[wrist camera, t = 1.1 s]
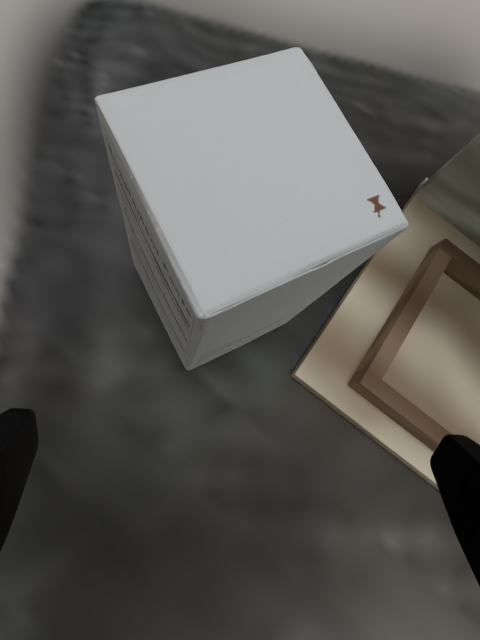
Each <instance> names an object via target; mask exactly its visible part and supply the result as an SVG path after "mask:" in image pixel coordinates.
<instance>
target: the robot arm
mask: <svg viewBox="0 0 480 640" xmlns="http://www.w3.org/2000/svg"><path fill="white" fill-rule="evenodd" d="M37 448H38V432H37V424H36V416H35V412H34V411H33V410H31V409H21V408H11V409H8V410H6V411H5V412H3V413H2V414H0V551H1V549H2V547H3V544H4V542H5V540H6V537H7V535H8V533H9V530H10V528H11V525H12V522H13V519H14V517H15V514H16V511H17V508H18V505H19V502H20V499H21V496H22V493H23V490H24V487H25V484H26V481H27V478H28V475H29V472H30V469H31V466H32V463H33V461H34V458H35V455H36V452H37ZM430 466H431V470H432V472H433V475H434V478H435V481H436V483H437V486H438V489H439V491H440V494H441V497H442V500H443V502H444V505H445V508H446V510H447V513H448V516H449V519H450V521H451V524H452V526H453V529H454V532H455V534H456V536H457V539H458V541H459V543H460V545H461V547H462V550H463V552H464V554H465V556H466V558H467V560H468V562H469V565H470V567H471V569H472V571H473V573H474V575H475V577H476V580H477V582H478V584H479V586H480V445H479V444H478V443H476V442H475V441H473V440H472V439H470V438H469V437H467V436H465V435H459V434H447V435H445V436H444V437H443V438H442V440H441V441H440V443H439V445H438V446H437V448H436V449H435V451H434V453H433V454H432V456H431V459H430Z"/></svg>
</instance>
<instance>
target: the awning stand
mask: <svg viewBox="0 0 480 640" xmlns="http://www.w3.org/2000/svg"><path fill="white" fill-rule="evenodd" d="M402 213H403V215H404V216H405V218H406V220H407V221H408V223H409V226H408V228H407V229H406V230H404V231H403V232H402V233H400V234H399V235H398V236H396V237H395V238H394V239H393V240H391V241H390V242H389V243H388V244H386V245H385V246H384V247H383V248H381V249H380V250H379V251H377V252H376V253H375V254H374V255H372V256H371V257H370V258H369V260H368V261H367V263H366V264H365V266H364V267H363V268H362V270H361V271H360V273H359V274H358V276H357V277H356V279H355V280H354V282H353V283H352V285H351V286H350V288H349V289H348V291H347V292H346V294H345V295H344V297H343V298H342V300H341V301H340V303H339V304H338V306H337V307H336V309H335V310H334V312H333V313H332V314H331V316H330V317H329V319H328V320H327V322H326V323H325V325H324V326H323V328H322V329H321V331H320V332H319V334H318V335H317V337H316V338H315V340H314V341H313V343H312V344H311V346H310V347H309V349H308V350H307V352H306V353H305V355H304V356H303V358H302V359H301V360H300V362H299V363H298V365H297V366H296V368H295V369H294V371H293V372H292V374H291V375H290V376H291V377H293V378H294V379H295V380H297V381H298V382H299V383H300V384H302V385H303V386H304V387H306V388H307V389H308V390H309V391H311V392H312V393H313V394H315V395H316V396H317V397H319V398H320V399H321V400H322V401H324V402H325V403H326V404H328V405H329V406H330V407H331V408H333V409H334V410H335V411H337V412H338V413H339V414H340V415H342V416H343V417H344V418H346V419H347V420H348V421H350V422H351V423H352V424H353V425H355V426H356V427H357V428H359V429H360V430H361V431H362V432H364V433H365V434H366V435H368V436H369V437H370V438H371V439H373V440H374V441H375V442H377V443H378V444H379V445H380V446H382V447H383V448H384V449H386V450H387V451H388V452H390V453H391V454H392V455H393V456H395V457H396V458H397V459H399V460H400V461H401V462H402V463H404V464H405V465H406V466H408V467H409V468H410V469H411V470H413V471H414V472H415V473H417V474H418V475H419V476H421V477H422V478H423V479H424V480H426V481H427V482H428V483H430V484H431V485H432V486H433V487H435V488H436V489H437V490H439V489H438V486H437V483H436V481H435V478H434V475H433V472H432V470H431V466H430V459H431V456H432V454H433V453H434V451H435V449H436V448H437V446H438V445H439V443H440V441H441V440H442V438H443V437H444V436H445V435H447V434H459V435H465V436H467V437H469V438H470V439H472V440H473V441H475V442H476V443H478V444H479V445H480V133H479V134H478V135H477V136H476V137H475V138H474V139H473V140H472V141H470V142H469V143H468V144H467V145H466V146H465V147H464V148H463V149H461V150H460V151H459V152H458V153H457V154H456V155H455V156H454V157H453V158H451V159H450V160H449V161H448V162H447V163H446V164H445V165H444V166H443V167H441V168H440V169H439V170H438V171H437V172H436V173H435V174H434V175H432V176H431V177H430V178H429V179H428V178H427V177H426V178H425V179H424V180H423V181H422V182H421V183H420V184H419V185H418V187H417V188H416V190H415V191H414V193H413V194H412V196H411V197H410V199H409V200H408V202H407V203H406V205H405V206H404V208H403V209H402Z"/></svg>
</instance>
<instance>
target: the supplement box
mask: <svg viewBox="0 0 480 640" xmlns="http://www.w3.org/2000/svg"><path fill="white" fill-rule="evenodd" d="M95 103H96V108H97V113H98V117H99V121H100V125H101V129H102V133H103V137H104V141H105V145H106V149H107V153H108V158H109V162H110V166H111V170H112V174H113V178H114V182H115V186H116V190H117V193H118V197H119V201H120V205H121V210H122V214H123V218H124V223H125V227H126V232H127V237H128V240H129V245H130V249H131V254H132V259H133V263H134V266H135V268H136V270H137V272H138V274H139V276H140V278H141V280H142V282H143V284H144V286H145V288H146V290H147V292H148V294H149V297H150V299H151V301H152V303H153V305H154V307H155V309H156V311H157V313H158V315H159V317H160V319H161V321H162V323H163V325H164V327H165V329H166V331H167V333H168V335H169V338H170V340H171V342H172V344H173V346H174V348H175V350H176V352H177V354H178V356H179V358H180V360H181V362H182V364H183V365H184V367H185V369H186V370H187V371H189V370H192V369H194V368H196V367H198V366H200V365H203V364H205V363H207V362H209V361H211V360H213V359H215V358H217V357H219V356H221V355H223V354H226V353H228V352H230V351H232V350H234V349H236V348H238V347H240V346H242V345H244V344H246V343H248V342H250V341H252V340H254V339H256V338H258V337H260V336H262V335H264V334H266V333H268V332H270V331H272V330H274V329H276V328H277V327H279V326H281V325H283V324H285V323H287V322H288V321H289V320H291V319H292V318H293V317H294V316H296V315H297V314H298V313H300V312H301V311H302V310H303V309H305V308H306V307H307V306H308V305H310V304H311V303H312V302H313V301H315V300H316V299H317V298H319V297H320V296H321V295H322V294H324V293H325V292H326V291H328V290H329V289H330V288H331V287H333V286H334V285H335V284H337V283H338V282H339V281H340V280H342V279H343V278H344V277H346V276H347V275H348V274H349V273H351V272H352V271H353V270H354V269H356V268H357V267H358V266H360V265H361V264H362V263H363V262H365V261H366V260H367V259H369V258H370V257H371V256H372V255H374V254H375V253H376V252H377V251H379V250H380V249H381V248H383V247H384V246H385V245H386V244H388V243H389V242H390V241H391V240H393V239H394V238H395V237H396V236H398V235H399V234H400V233H402V232H403V231H404V230H406V229H407V228H408V226H409V223H408V221H407V220H406V218H405V216H404V215H403V213H402V211H401V209H400V207H399V205H398V204H397V202H396V200H395V198H394V196H393V195H392V193H391V191H390V190H389V188H388V186H387V185H386V183H385V181H384V180H383V178H382V176H381V175H380V173H379V172H378V170H377V168H376V167H375V165H374V164H373V162H372V160H371V159H370V157H369V156H368V154H367V152H366V151H365V149H364V148H363V146H362V144H361V143H360V141H359V139H358V138H357V136H356V135H355V133H354V132H353V130H352V128H351V127H350V125H349V124H348V122H347V120H346V119H345V117H344V115H343V114H342V112H341V110H340V109H339V107H338V106H337V104H336V102H335V101H334V99H333V98H332V96H331V94H330V93H329V91H328V90H327V88H326V87H325V85H324V83H323V82H322V80H321V78H320V77H319V75H318V73H317V72H316V70H315V68H314V67H313V65H312V64H311V62H310V61H309V59H308V58H307V57H306V55H305V54H304V52H303V51H302V50H301V48H298V47H295V48H291V49H287V50H283V51H279V52H275V53H272V54H268V55H263V56H260V57H256V58H252V59H248V60H244V61H240V62H236V63H232V64H228V65H224V66H220V67H215V68H211V69H207V70H203V71H199V72H195V73H191V74H187V75H183V76H179V77H175V78H171V79H167V80H163V81H159V82H154V83H150V84H146V85H142V86H138V87H134V88H129V89H125V90H121V91H117V92H113V93H108V94H104V95H100V96H97V97H95Z"/></svg>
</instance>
